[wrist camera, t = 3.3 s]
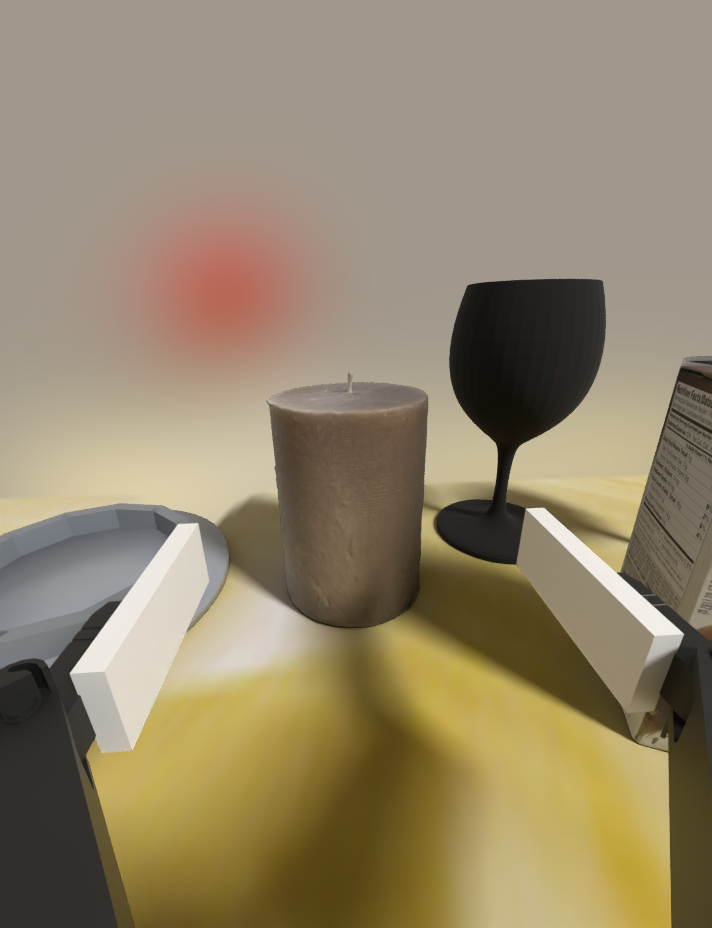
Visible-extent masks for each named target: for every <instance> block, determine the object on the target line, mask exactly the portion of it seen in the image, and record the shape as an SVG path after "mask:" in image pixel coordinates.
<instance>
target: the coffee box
mask: <svg viewBox="0 0 712 928" xmlns="http://www.w3.org/2000/svg"><path fill="white" fill-rule="evenodd" d="M621 572H624V573H625V574H627V575H629V576H631V577H633V578H634V579H636V580H638V581H640V582H641V583H642V584H644V585H645V586H646V587H647V588H648V589H649V590H651V591H652V592H653V593H654V595H655V596H658V597H659V598H660V599H661V600H662V601H663V602H665V605H666V606H669V607H670V608H672V609H673V610H674V611H675V612H676V613H677V614H679V615H680V616H681V617H682V618H683V619H684V620H686V621H687V622H688V623H689V624H690V625H691V626H693V627H694V628H695V629H696V630H697V631H698V632H700V633H701V634H702V635H703V636H704V637H705V638H706V639H708V640H712V366H681V367H680V369H679V373H678V376H677V380H676V383H675V387H674V390H673V394H672V397H671V401H670V404H669V408H668V411H667V415H666V418H665V422H664V425H663V428H662V432H661V435H660V439H659V442H658V446H657V450H656V452H655V456H654V459H653V463H652V466H651V469H650V473H649V476H648V480H647V483H646V486H645V490H644V493H643V497H642V500H641V504H640V507H639V510H638V514H637V518H636V521H635V525H634V528H633V531H632V535H631V538H630V541H629V545H628V548H627V552H626V555H625V559H624V563H623V566H622V569H621ZM622 709H623V712H624V715H625V718H626V721H627V724H628V727H629V730H630V733H631V735H632V738H633V739H634V740H635V741H636V742H637V743H639V744H642V745H645V746H649V747H652V748H656V749H660V750H664V751H668V733H667V736H666V738H665V739H664V738H662V737H660V735H661V732H662V729H663V727H664V724H665V722H666V720H667V717H668V715H669V712H670V710H671V707H670V705H669V704H668V703H667V702H666V701H665V700H664V698H663V697H662V696H661V695H660V697H659V699H658V702H657V704H656V707H655V709H654V711H649V712H636V713H627V712H626V711H625V710H624V708H623V707H622Z"/></svg>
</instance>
